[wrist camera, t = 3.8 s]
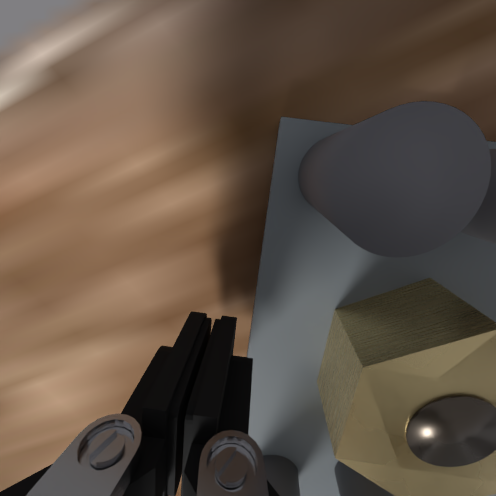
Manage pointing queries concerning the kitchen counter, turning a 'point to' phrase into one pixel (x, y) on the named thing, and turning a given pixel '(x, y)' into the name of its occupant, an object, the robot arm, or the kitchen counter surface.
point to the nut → (413, 392)
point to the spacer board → (358, 260)
